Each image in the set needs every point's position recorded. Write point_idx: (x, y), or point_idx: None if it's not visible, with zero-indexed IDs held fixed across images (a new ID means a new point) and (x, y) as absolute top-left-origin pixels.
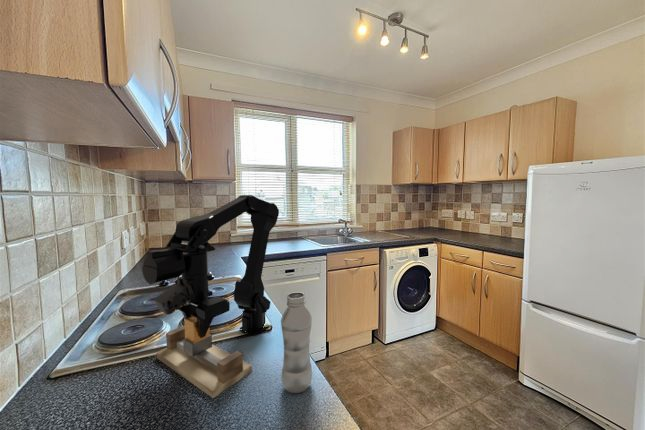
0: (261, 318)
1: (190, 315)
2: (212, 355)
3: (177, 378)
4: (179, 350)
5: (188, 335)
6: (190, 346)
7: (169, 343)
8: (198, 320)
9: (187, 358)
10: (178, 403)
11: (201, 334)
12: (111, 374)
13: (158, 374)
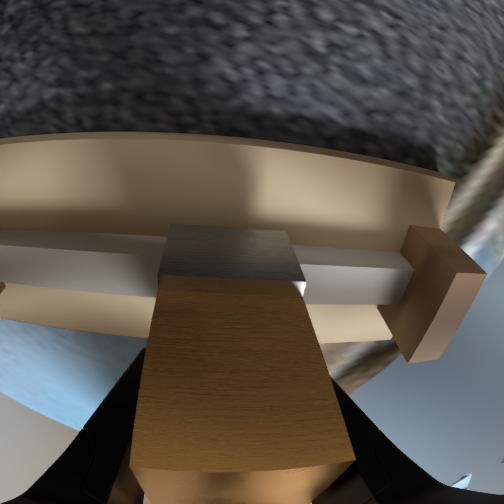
0: None
1: (341, 486)
2: (103, 287)
3: (196, 111)
4: (366, 243)
5: (252, 326)
6: (189, 261)
7: (435, 242)
8: (64, 496)
9: (259, 220)
10: (37, 37)
11: (128, 372)
12: (492, 34)
13: (324, 86)
